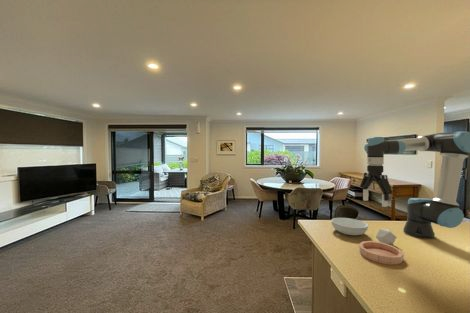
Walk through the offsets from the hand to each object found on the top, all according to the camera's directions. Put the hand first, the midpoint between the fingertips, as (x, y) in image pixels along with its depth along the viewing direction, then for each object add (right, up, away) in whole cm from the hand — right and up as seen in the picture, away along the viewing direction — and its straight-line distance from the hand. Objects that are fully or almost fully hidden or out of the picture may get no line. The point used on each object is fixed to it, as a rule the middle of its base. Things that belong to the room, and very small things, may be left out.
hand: (374, 203), depth 119 cm
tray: (-4, -24, -11) cm, 27 cm away
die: (+8, -24, +3) cm, 26 cm away
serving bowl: (-4, -23, +20) cm, 31 cm away
